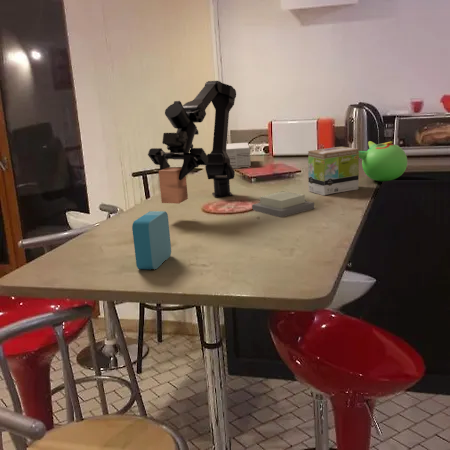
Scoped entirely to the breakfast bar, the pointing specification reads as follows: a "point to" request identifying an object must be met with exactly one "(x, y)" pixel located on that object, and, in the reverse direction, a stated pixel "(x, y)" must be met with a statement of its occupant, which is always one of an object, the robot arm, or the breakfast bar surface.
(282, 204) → the sage top slab
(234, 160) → the supplement box
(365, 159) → the green rounded body
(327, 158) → the tea box
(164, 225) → the data package
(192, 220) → the breakfast bar surface
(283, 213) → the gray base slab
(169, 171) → the terracotta block
